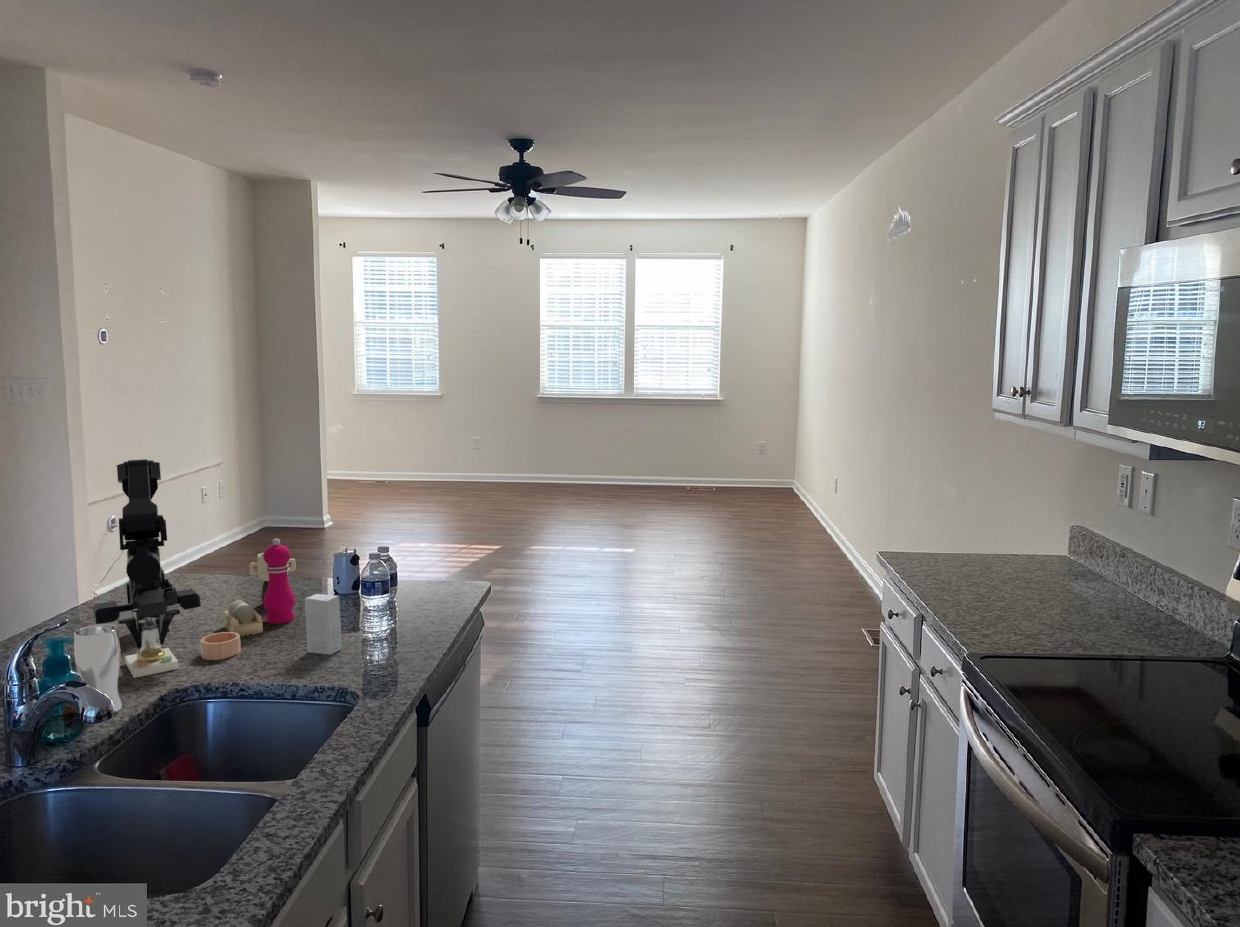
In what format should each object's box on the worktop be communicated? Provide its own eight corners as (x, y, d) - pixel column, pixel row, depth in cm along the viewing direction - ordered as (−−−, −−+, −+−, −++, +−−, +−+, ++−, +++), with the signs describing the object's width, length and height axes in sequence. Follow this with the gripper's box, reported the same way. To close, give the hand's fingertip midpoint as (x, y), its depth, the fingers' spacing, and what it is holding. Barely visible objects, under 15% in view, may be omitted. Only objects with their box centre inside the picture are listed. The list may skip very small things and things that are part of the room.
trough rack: (224, 626, 199) (222, 600, 198) (250, 621, 202) (249, 596, 202) (235, 637, 191) (233, 610, 190) (262, 632, 195) (261, 606, 194)
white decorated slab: (125, 663, 175) (124, 652, 175) (168, 655, 180) (167, 644, 180) (133, 677, 167) (132, 666, 167) (178, 668, 172) (177, 657, 172)
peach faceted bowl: (198, 652, 182) (197, 636, 181) (235, 645, 186) (234, 629, 186) (206, 662, 176) (205, 646, 175) (244, 654, 180) (243, 638, 180)
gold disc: (135, 656, 174) (135, 652, 174) (162, 651, 177) (162, 647, 177) (139, 663, 170) (139, 659, 170) (167, 658, 173) (167, 654, 173)
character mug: (296, 597, 223) (293, 548, 221) (298, 604, 217) (296, 554, 215) (251, 602, 218) (248, 553, 216) (252, 609, 212) (249, 559, 210)
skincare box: (342, 649, 184) (340, 595, 182) (330, 655, 180) (327, 601, 178) (319, 646, 186) (316, 593, 184) (306, 652, 182) (303, 598, 180)
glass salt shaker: (138, 652, 174) (135, 617, 173) (160, 648, 176) (157, 614, 175) (142, 658, 171) (139, 622, 170) (163, 654, 173) (160, 618, 172)
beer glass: (92, 722, 147) (85, 639, 145) (72, 713, 151) (64, 632, 149) (132, 707, 153) (126, 627, 151) (112, 699, 157) (105, 621, 155)
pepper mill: (285, 625, 200) (280, 542, 197) (257, 623, 201) (253, 541, 198) (302, 616, 207) (298, 536, 204) (276, 614, 208) (271, 534, 205)
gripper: (96, 588, 159) (103, 668, 161) (204, 572, 171) (209, 647, 173) (88, 576, 168) (95, 652, 170) (192, 562, 179) (196, 633, 181)
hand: (150, 646), depth 173 cm, fingers closed on glass salt shaker, 4 cm apart
